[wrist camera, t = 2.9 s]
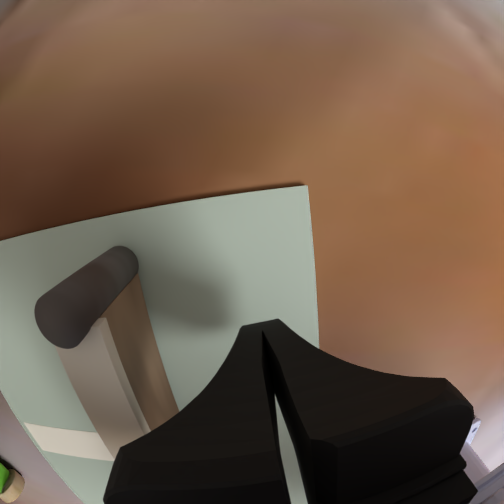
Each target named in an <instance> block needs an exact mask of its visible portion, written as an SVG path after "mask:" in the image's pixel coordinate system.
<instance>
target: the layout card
mask: <svg viewBox="0 0 504 504" xmlns="http://www.w3.org/2000/svg"><path fill="white" fill-rule="evenodd" d="M114 246H125V247H127V248H129V249H130V250H131V251H133V253H134V254H135V255H136V257H137V259H138V264H139V269H138V275H139V279H140V283H141V287H142V292H143V296H144V300H145V303H146V307H147V311H148V315H149V318H150V322H151V326H152V329H153V333H154V336H155V340H156V343H157V346H158V350H159V353H160V356H161V359H162V363H163V366H164V369H165V372H166V375H167V378H168V381H169V384H170V387H171V390H172V392H173V395H174V398H175V401H176V404H177V406H178V409H179V412H180V411H181V410H182V409H183V408H184V407H185V406H187V405H188V404H189V403H190V402H191V401H192V400H193V399H194V398H195V397H196V396H197V395H198V394H200V392H201V391H202V390H203V389H204V388H205V387H206V386H207V385H208V383H209V382H210V381H211V380H212V378H213V377H214V376H215V374H216V373H217V371H218V370H219V368H220V367H221V365H222V364H223V362H224V361H225V359H226V357H227V355H228V353H229V352H230V350H231V348H232V346H233V344H234V342H235V340H236V337H237V335H238V332H239V329H240V328H241V326H243V325H248V324H253V323H258V322H263V321H268V320H273V319H280V320H281V321H283V322H284V323H285V324H286V325H287V326H288V327H289V328H290V329H292V330H293V331H294V332H295V333H297V334H298V335H299V336H301V337H302V338H303V339H305V340H306V341H308V342H309V343H311V344H312V345H314V346H315V347H317V348H319V332H318V310H317V292H316V276H315V262H314V249H313V237H312V226H311V215H310V205H309V196H308V186H307V185H303V186H294V187H285V188H277V189H269V190H261V191H253V192H245V193H238V194H231V195H224V196H217V197H210V198H204V199H197V200H191V201H185V202H179V203H173V204H167V205H161V206H155V207H150V208H144V209H139V210H134V211H128V212H123V213H118V214H113V215H108V216H103V217H98V218H94V219H89V220H84V221H80V222H75V223H71V224H66V225H62V226H58V227H53V228H49V229H45V230H41V231H37V232H33V233H29V234H25V235H21V236H17V237H13V238H9V239H6V240H2V241H0V390H1V392H2V394H3V396H4V398H5V399H6V401H7V403H8V405H9V406H10V408H11V410H12V411H13V413H14V415H15V416H16V418H17V419H18V421H19V422H20V424H21V426H22V427H23V429H24V430H25V432H26V433H27V434H28V436H29V437H30V439H31V440H32V442H33V443H34V444H35V446H36V447H37V449H38V450H39V451H40V453H41V454H42V455H43V457H44V458H45V459H46V460H47V462H48V463H49V464H50V466H51V467H52V468H53V469H54V470H55V472H56V473H57V474H58V475H59V476H60V478H61V479H62V480H63V481H64V482H65V483H66V485H67V486H68V487H69V488H70V489H71V490H72V491H73V492H74V493H75V494H76V496H77V497H78V498H79V499H80V500H81V501H82V502H83V503H84V504H104V502H103V496H104V493H105V489H106V486H107V482H108V479H109V476H110V472H111V469H112V466H113V463H114V460H115V459H114V458H113V456H112V455H111V453H110V452H109V450H108V449H107V447H106V446H105V444H104V442H103V441H102V439H101V437H100V436H99V434H98V433H97V431H96V429H95V427H94V426H93V424H92V422H91V420H90V419H89V417H88V415H87V413H86V411H85V410H84V408H83V406H82V404H81V402H80V400H79V398H78V396H77V394H76V392H75V390H74V388H73V386H72V384H71V382H70V380H69V378H68V375H67V373H66V371H65V369H64V367H63V364H62V362H61V360H60V357H59V355H58V353H57V350H56V348H55V345H53V344H52V343H51V342H49V341H48V340H47V339H46V338H45V337H44V336H43V334H42V333H41V331H40V330H39V328H38V326H37V323H36V320H35V314H34V309H35V304H36V302H37V300H38V299H39V298H40V297H41V296H42V295H43V294H45V293H46V292H48V291H49V290H50V289H52V288H53V287H55V286H56V285H57V284H59V283H60V282H62V281H63V280H64V279H66V278H67V277H69V276H70V275H72V274H73V273H74V272H76V271H77V270H79V269H80V268H82V267H83V266H85V265H86V264H88V263H89V262H91V261H92V260H94V259H95V258H97V257H98V256H100V255H101V254H103V253H104V252H106V251H107V250H109V249H110V248H112V247H114ZM275 402H276V412H277V423H278V434H279V444H280V451H281V457H282V462H283V467H284V472H285V477H286V481H287V486H288V491H289V495H290V500H291V504H308V503H307V499H306V495H305V491H304V486H303V482H302V478H301V474H300V470H299V466H298V462H297V457H296V453H295V450H294V447H293V444H292V441H291V438H290V435H289V432H288V430H287V427H286V424H285V421H284V419H283V416H282V413H281V410H280V407H279V405H278V402H277V399H276V396H275Z"/></svg>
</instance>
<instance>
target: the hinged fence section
mask: <svg viewBox="0 0 504 504" xmlns="http://www.w3.org/2000/svg"><path fill="white" fill-rule="evenodd" d="M138 269H139V264H138V259H137V257H136V255H135V254H134V253H133V251H131V250H130V249H129V248H127V247H125V246H114V247H112V248H110V249H109V250H107V251H106V252H104V253H103V254H101V255H100V256H98V257H97V258H95V259H94V260H92V261H91V262H89V263H88V264H86V265H85V266H83V267H82V268H80V269H79V270H77V271H76V272H74V273H73V274H72V275H70V276H69V277H67V278H66V279H64V280H63V281H62V282H60V283H59V284H57V285H56V286H55V287H53V288H52V289H50V290H49V291H48V292H46V293H45V294H43V295H42V296H41V297H40V298H39V299H38V300H37V302H36V304H35V309H34V314H35V320H36V323H37V326H38V328H39V330H40V331H41V333H42V334H43V336H44V337H45V338H46V339H47V340H48V341H49V342H51V343H52V344H53V345H55V348H56V350H57V353H58V355H59V357H60V360H61V362H62V364H63V367H64V369H65V371H66V373H67V375H68V378H69V380H70V382H71V384H72V386H73V388H74V390H75V392H76V394H77V396H78V398H79V400H80V402H81V404H82V406H83V408H84V410H85V411H86V413H87V415H88V417H89V419H90V420H91V422H92V424H93V426H94V427H95V429H96V431H97V433H98V434H99V436H100V437H101V439H102V441H103V442H104V444H105V446H106V447H107V449H108V450H109V452H110V453H111V455H112V456H113V458H114V459H115V458H116V455H117V453H118V451H119V448H120V447H122V446H124V445H126V444H128V443H130V442H132V441H134V440H136V439H138V438H140V437H141V436H143V435H145V434H147V433H149V432H151V431H152V430H154V429H156V428H157V427H159V426H160V425H162V424H163V423H165V422H166V421H168V420H169V419H170V418H172V417H173V416H174V415H176V414H177V413H178V412H179V409H178V406H177V404H176V401H175V398H174V395H173V392H172V390H171V387H170V384H169V381H168V378H167V375H166V372H165V369H164V366H163V363H162V359H161V356H160V353H159V350H158V346H157V343H156V340H155V336H154V333H153V329H152V326H151V322H150V318H149V315H148V311H147V307H146V303H145V300H144V296H143V292H142V287H141V283H140V279H139V275H138Z"/></svg>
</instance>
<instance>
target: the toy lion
mask: <svg viewBox="0 0 504 504" xmlns="http://www.w3.org/2000/svg"><path fill="white" fill-rule="evenodd" d="M24 483H25V482H24V478H23V477H22V476H21V475H20V474H19V473H17V472H16V471H15V470H14V469H9V470H7V469H6V468H5V467H4V466H3V465H2V464H1V463H0V498H1V499H2V500H3V501H4V502H6V503H10V502H13V501H14V500H16V499H17V498H18V496H19V495H20V494H21V492H22V490H23V488H24Z"/></svg>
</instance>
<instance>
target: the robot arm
mask: <svg viewBox="0 0 504 504" xmlns="http://www.w3.org/2000/svg"><path fill="white" fill-rule="evenodd" d="M275 396H276V399H277V402H278V405H279V407H280V410H281V413H282V416H283V419H284V421H285V424H286V427H287V430H288V432H289V435H290V438H291V441H292V444H293V447H294V450H295V453H296V457H297V462H298V466H299V470H300V474H301V478H302V482H303V486H304V491H305V495H306V499H307V503H308V504H504V463H503V464H501V465H500V466H499V467H497V468H496V469H494V470H493V471H492V472H490V470H489V469H488V468H487V467H486V465H485V464H484V463H483V461H482V460H481V459H480V458H479V456H478V455H477V454H476V453H475V451H474V450H473V449H472V448H471V446H470V444H471V442H472V440H473V438H474V436H475V434H476V432H477V430H478V428H479V425H480V423H481V420H480V419H479V418H476V419H474V420H473V418H474V410H473V406H472V405H471V404H470V403H469V401H468V400H467V399H466V398H465V397H464V396H463V395H462V394H461V393H460V391H459V390H458V389H457V388H456V387H454V386H453V385H452V384H451V383H450V382H449V381H448V380H447V379H446V378H427V377H409V376H401V375H395V374H388V373H384V372H379V371H374V370H371V369H367V368H364V367H360V366H357V365H354V364H351V363H348V362H346V361H343V360H341V359H339V358H336V357H334V356H332V355H330V354H328V353H326V352H324V351H322V350H320V349H319V348H317V347H315V346H314V345H312V344H311V343H309V342H308V341H306V340H305V339H303V338H302V337H301V336H299V335H298V334H297V333H295V332H294V331H293V330H292V329H290V328H289V327H288V326H287V325H286V324H285V323H284V322H283V321H281V320H280V319H273V320H268V321H263V322H258V323H253V324H248V325H243V326H241V328H240V329H239V332H238V335H237V337H236V340H235V342H234V344H233V346H232V348H231V350H230V352H229V353H228V355H227V357H226V359H225V361H224V362H223V364H222V365H221V367H220V368H219V370H218V371H217V373H216V374H215V376H214V377H213V378H212V380H211V381H210V382H209V383H208V385H207V386H206V387H205V388H204V389H203V390H202V391H201V392H200V394H198V395H197V396H196V397H195V398H194V399H193V400H192V401H191V402H190V403H189V404H188V405H187V406H185V407H184V408H183V409H182V410H181V411H180V412H178V413H177V414H176V415H174V416H173V417H172V418H170V419H169V420H168V421H166V422H165V423H163V424H162V425H160V426H159V427H157V428H156V429H154V430H152V431H151V432H149V433H147V434H145V435H143V436H141V437H140V438H138V439H136V440H134V441H132V442H130V443H128V444H126V445H124V446H122V447H120V448H119V451H118V453H117V455H116V458H115V460H114V463H113V466H112V469H111V472H110V476H109V479H108V482H107V486H106V489H105V493H104V496H103V502H104V504H291V500H290V495H289V491H288V486H287V481H286V477H285V472H284V467H283V462H282V457H281V451H280V444H279V434H278V423H277V412H276V402H275Z"/></svg>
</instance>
